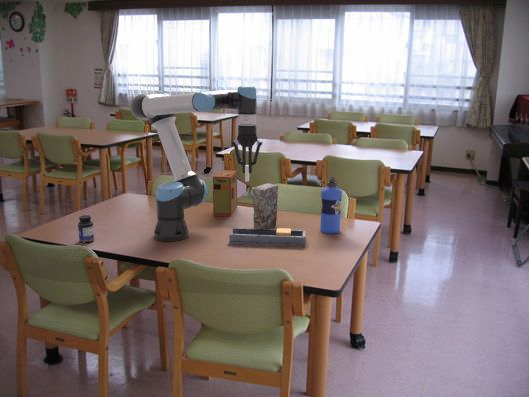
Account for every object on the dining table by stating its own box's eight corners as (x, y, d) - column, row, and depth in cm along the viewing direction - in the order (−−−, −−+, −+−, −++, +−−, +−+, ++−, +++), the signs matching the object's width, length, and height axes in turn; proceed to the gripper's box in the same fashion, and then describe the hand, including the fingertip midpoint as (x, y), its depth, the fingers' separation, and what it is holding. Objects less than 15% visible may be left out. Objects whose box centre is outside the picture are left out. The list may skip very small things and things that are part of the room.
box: (220, 207, 285) (220, 170, 280) (237, 207, 284) (237, 170, 279) (213, 215, 269) (212, 176, 264) (230, 216, 268) (230, 177, 263)
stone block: (265, 232, 243) (265, 189, 238) (251, 229, 247) (251, 187, 242) (278, 224, 255) (279, 183, 250) (265, 222, 258) (265, 182, 253)
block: (276, 241, 227) (276, 232, 226) (277, 236, 233) (277, 228, 232) (290, 241, 227) (290, 232, 226) (290, 237, 233) (291, 228, 232)
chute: (229, 244, 227) (229, 235, 226) (233, 235, 238) (233, 226, 237) (304, 247, 224) (305, 238, 223) (305, 238, 235) (305, 229, 234)
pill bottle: (78, 240, 231) (76, 215, 228) (93, 238, 233) (91, 213, 230) (80, 244, 225) (78, 219, 223) (95, 242, 228) (93, 217, 225)
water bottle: (315, 230, 246) (317, 177, 240) (327, 226, 252) (329, 174, 246) (332, 235, 240) (334, 180, 233) (344, 230, 246) (346, 177, 240)
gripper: (230, 125, 216) (230, 182, 222) (262, 125, 215) (261, 183, 221) (232, 123, 224) (233, 178, 230) (263, 123, 223) (263, 179, 228)
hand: (247, 180), depth 225 cm, fingers closed
